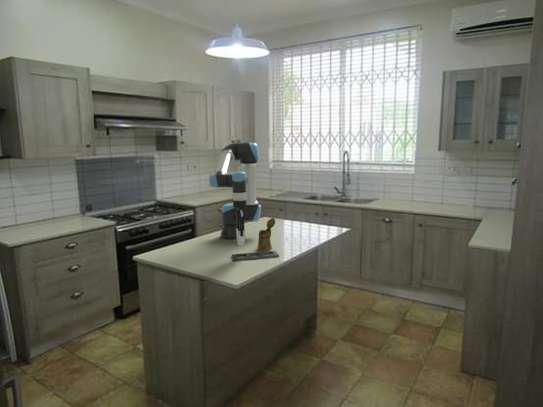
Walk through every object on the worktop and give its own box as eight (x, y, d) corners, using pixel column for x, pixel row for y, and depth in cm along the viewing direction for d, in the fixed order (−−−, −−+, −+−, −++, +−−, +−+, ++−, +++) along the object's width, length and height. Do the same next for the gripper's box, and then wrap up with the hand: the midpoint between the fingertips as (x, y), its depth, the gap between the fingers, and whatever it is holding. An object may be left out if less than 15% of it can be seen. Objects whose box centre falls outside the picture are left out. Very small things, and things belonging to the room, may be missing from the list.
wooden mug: (279, 246, 244) (279, 218, 242) (265, 251, 234) (264, 222, 232) (268, 244, 250) (268, 216, 247) (254, 248, 240) (253, 220, 237)
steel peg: (236, 243, 222) (236, 228, 221) (243, 242, 223) (243, 227, 222) (238, 245, 219) (237, 229, 217) (245, 244, 220) (244, 229, 218)
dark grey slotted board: (231, 256, 226) (231, 254, 225) (274, 252, 232) (274, 250, 232) (234, 261, 217) (233, 259, 217) (278, 256, 223) (278, 254, 223)
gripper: (230, 198, 224) (232, 237, 228) (235, 202, 208) (236, 244, 212) (243, 197, 226) (244, 236, 230) (249, 201, 210) (250, 243, 213)
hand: (240, 240), depth 221 cm, fingers closed on steel peg, 4 cm apart
